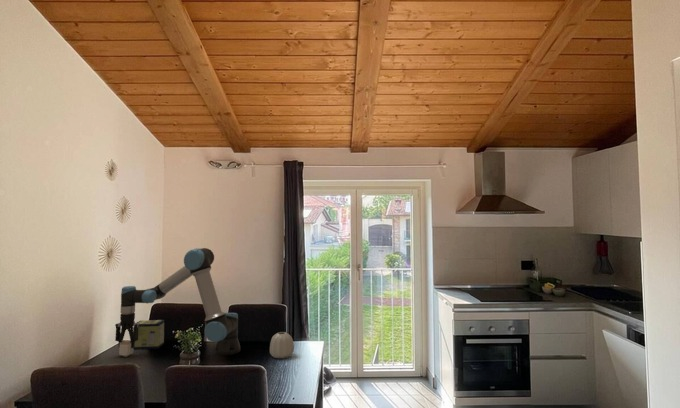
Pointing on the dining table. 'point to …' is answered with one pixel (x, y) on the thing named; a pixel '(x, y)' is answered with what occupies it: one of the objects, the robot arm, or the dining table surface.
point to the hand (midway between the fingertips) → (126, 353)
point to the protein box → (150, 334)
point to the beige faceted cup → (124, 348)
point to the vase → (281, 345)
